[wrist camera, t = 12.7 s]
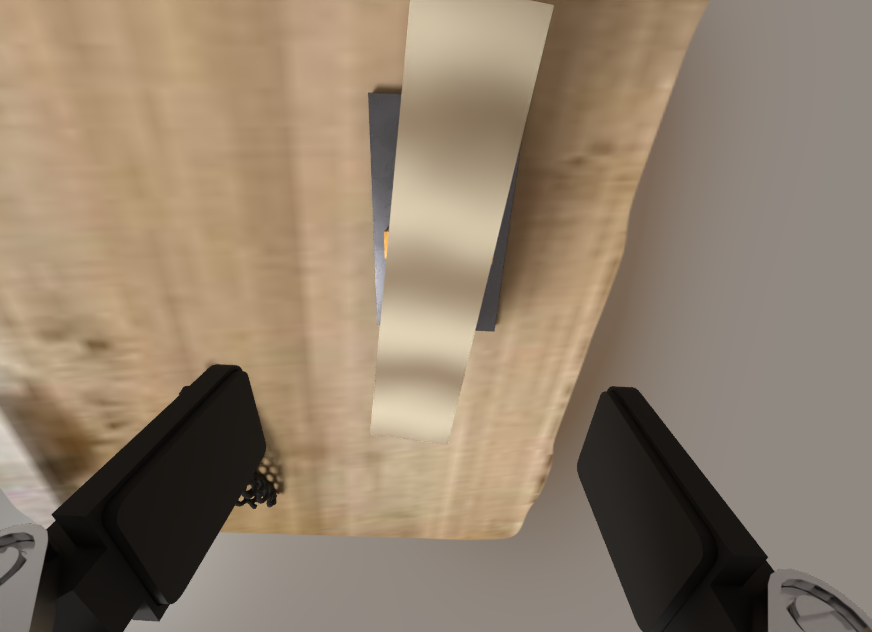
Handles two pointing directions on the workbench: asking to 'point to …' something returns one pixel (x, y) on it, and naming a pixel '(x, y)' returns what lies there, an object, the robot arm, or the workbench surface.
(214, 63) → the workbench surface
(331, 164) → the workbench surface
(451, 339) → the maple bar
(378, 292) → the stand
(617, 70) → the workbench surface
